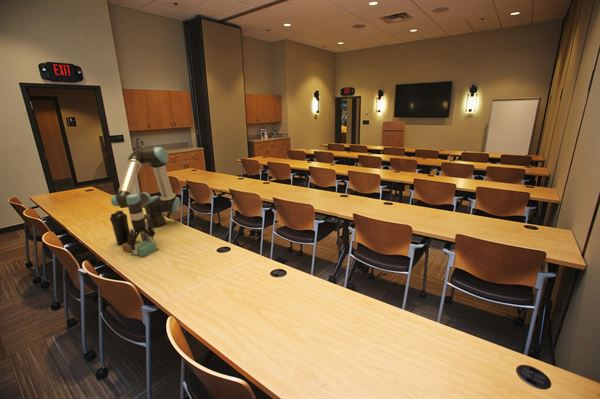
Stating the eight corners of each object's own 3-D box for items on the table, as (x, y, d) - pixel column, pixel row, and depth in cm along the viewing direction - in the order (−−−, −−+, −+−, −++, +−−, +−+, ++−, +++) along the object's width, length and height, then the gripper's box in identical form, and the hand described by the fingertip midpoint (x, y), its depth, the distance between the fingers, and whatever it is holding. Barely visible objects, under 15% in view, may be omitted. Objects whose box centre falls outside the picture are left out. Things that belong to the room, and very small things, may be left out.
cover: (156, 249, 194) (155, 242, 192) (143, 256, 185) (142, 248, 184) (145, 247, 198) (144, 240, 196) (132, 253, 189) (130, 246, 187)
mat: (146, 246, 199) (145, 246, 199) (159, 249, 194) (158, 249, 194) (130, 254, 188) (130, 254, 188) (143, 257, 184) (143, 257, 184)
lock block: (148, 240, 209) (146, 229, 207) (153, 241, 207) (151, 230, 205) (142, 243, 205) (140, 232, 202) (147, 244, 203) (145, 233, 201)
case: (134, 246, 201) (132, 239, 199) (142, 248, 198) (140, 241, 196) (123, 251, 194) (121, 244, 192) (131, 253, 191) (130, 246, 189)
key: (138, 233, 201) (135, 218, 197) (151, 228, 208) (148, 214, 205) (146, 236, 195) (143, 220, 192) (159, 231, 202) (156, 216, 199)
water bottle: (135, 239, 211) (129, 209, 205) (126, 246, 202) (119, 214, 195) (122, 239, 212) (115, 209, 206) (112, 246, 203) (105, 214, 196)
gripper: (149, 211, 197) (155, 241, 203) (115, 224, 176) (123, 257, 182) (157, 212, 194) (163, 242, 200) (124, 226, 173) (132, 259, 179)
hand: (144, 249), depth 191 cm, fingers open, 12 cm apart
